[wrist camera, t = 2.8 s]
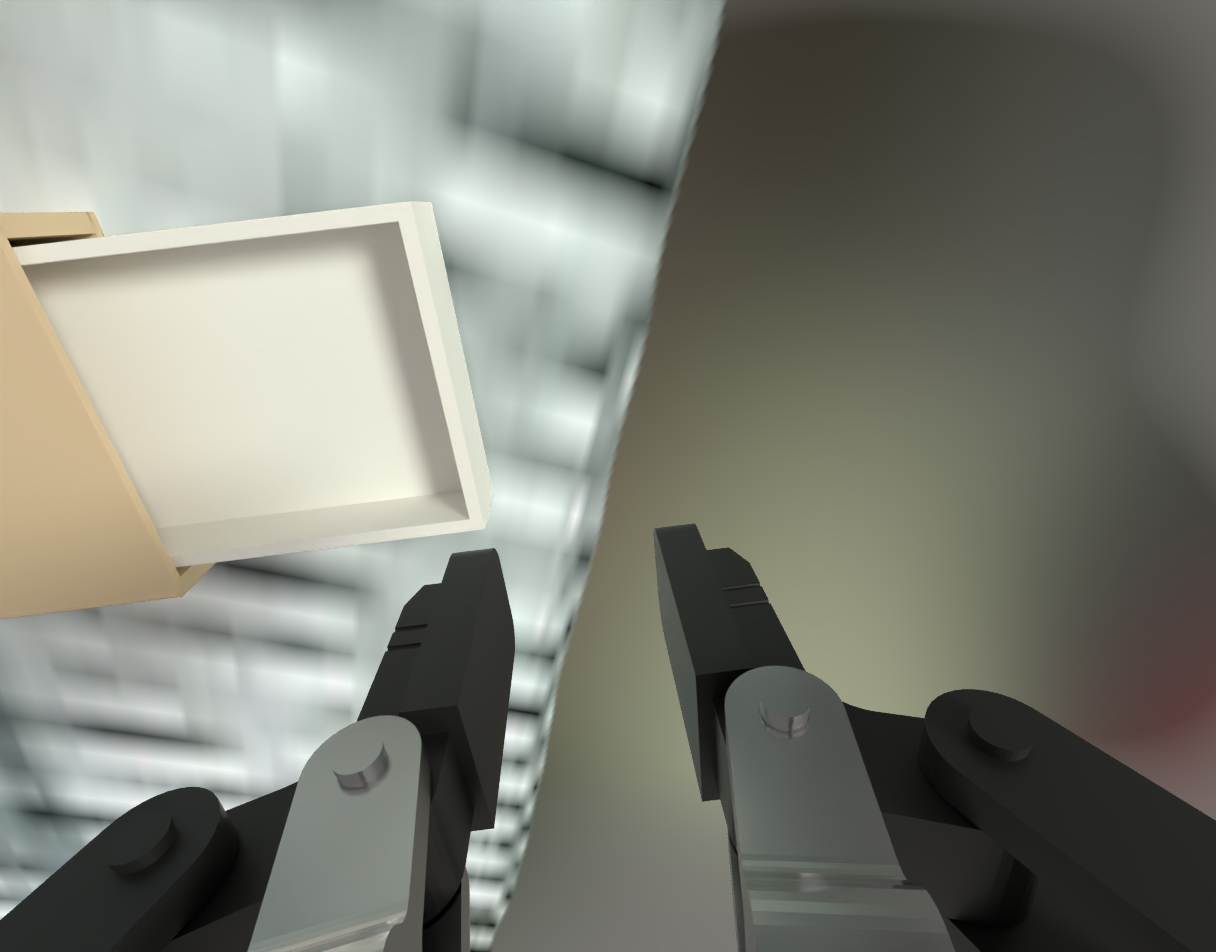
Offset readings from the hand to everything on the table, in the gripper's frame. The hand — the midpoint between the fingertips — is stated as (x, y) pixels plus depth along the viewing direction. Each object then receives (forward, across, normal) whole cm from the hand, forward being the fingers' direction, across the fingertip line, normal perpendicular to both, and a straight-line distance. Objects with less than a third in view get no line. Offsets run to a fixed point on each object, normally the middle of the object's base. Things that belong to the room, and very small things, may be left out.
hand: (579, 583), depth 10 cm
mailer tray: (+18, +21, 0) cm, 28 cm away
